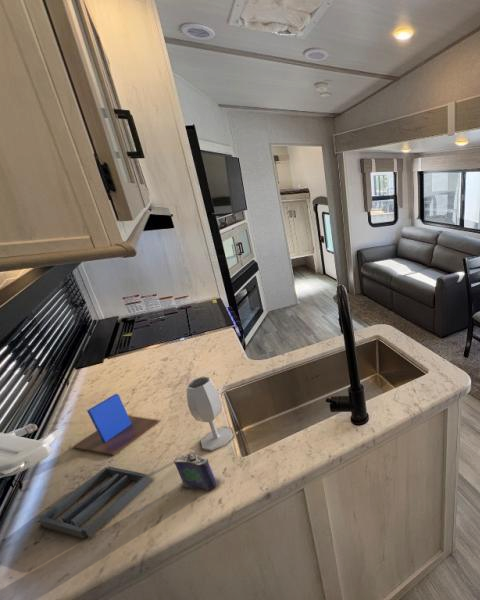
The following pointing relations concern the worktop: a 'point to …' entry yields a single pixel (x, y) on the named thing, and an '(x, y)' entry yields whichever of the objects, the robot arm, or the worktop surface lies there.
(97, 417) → the lid
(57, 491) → the worktop surface
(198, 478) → the flask
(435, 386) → the worktop surface
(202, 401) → the wineglass
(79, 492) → the rack
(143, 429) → the board
